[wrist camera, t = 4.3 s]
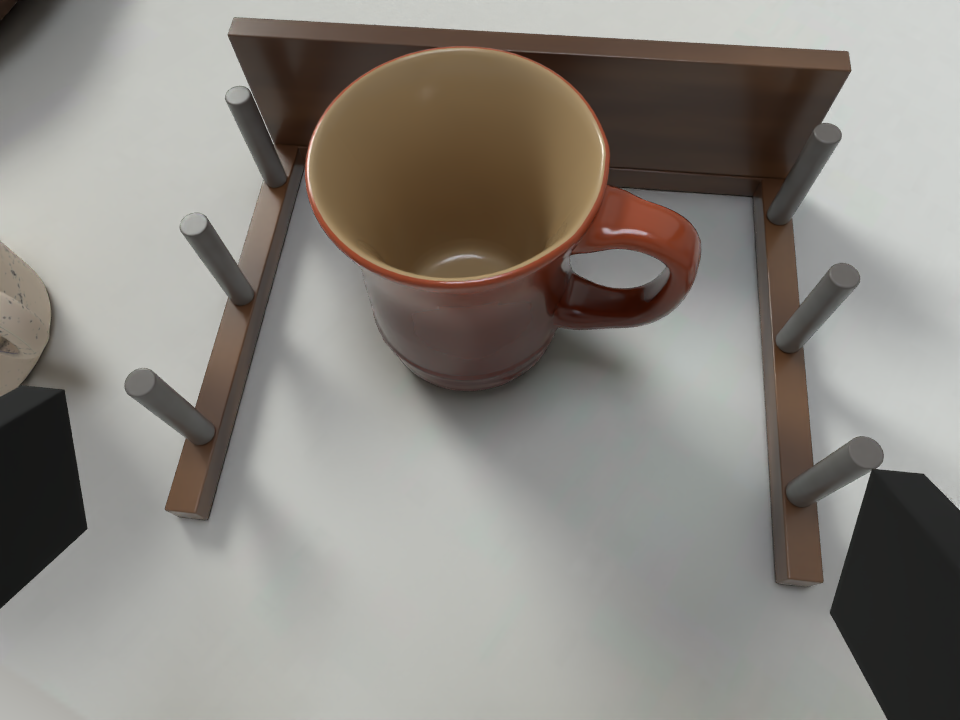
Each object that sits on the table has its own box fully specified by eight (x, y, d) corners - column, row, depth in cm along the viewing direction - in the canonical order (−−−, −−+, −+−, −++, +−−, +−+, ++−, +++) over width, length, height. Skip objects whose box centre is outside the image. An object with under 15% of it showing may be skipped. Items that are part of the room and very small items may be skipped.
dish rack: (810, 587, 25) (922, 554, 18) (177, 516, 26) (69, 463, 20) (777, 177, 32) (849, 48, 25) (286, 143, 34) (234, 14, 27)
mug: (333, 380, 28) (250, 235, 19) (412, 212, 32) (374, 19, 22) (620, 474, 26) (685, 363, 17) (672, 284, 30) (750, 105, 20)
